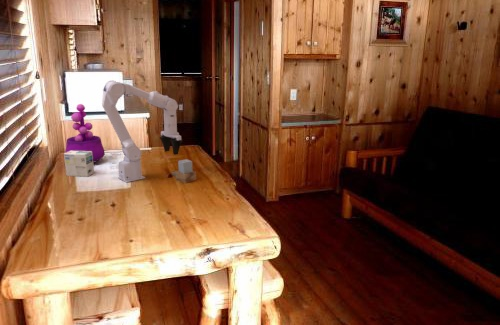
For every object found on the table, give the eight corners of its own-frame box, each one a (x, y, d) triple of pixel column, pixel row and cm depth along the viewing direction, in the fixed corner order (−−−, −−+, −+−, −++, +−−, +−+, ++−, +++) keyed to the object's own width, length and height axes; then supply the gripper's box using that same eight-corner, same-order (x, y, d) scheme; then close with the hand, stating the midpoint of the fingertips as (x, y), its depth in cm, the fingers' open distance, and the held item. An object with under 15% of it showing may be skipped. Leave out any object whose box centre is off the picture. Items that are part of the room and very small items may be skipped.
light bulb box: (94, 172, 190) (92, 150, 187) (87, 177, 184) (85, 154, 181) (73, 171, 191) (70, 149, 188) (65, 176, 185) (63, 153, 182)
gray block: (183, 173, 179) (183, 163, 177) (178, 171, 182) (178, 160, 181) (192, 172, 181) (192, 161, 180) (187, 169, 185) (187, 159, 183)
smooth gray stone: (176, 177, 186) (176, 175, 186) (169, 174, 190) (169, 172, 190) (187, 175, 190) (187, 172, 190) (180, 172, 194) (180, 170, 194)
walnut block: (185, 183, 178) (185, 174, 177) (175, 180, 182) (175, 171, 181) (196, 180, 183) (196, 171, 182) (186, 177, 187) (186, 168, 186)
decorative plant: (91, 168, 197) (86, 107, 189) (58, 165, 200) (51, 105, 192) (112, 158, 215) (107, 102, 207) (80, 156, 218) (75, 101, 210)
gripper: (186, 125, 183) (187, 154, 187) (169, 121, 194) (170, 148, 197) (173, 127, 179) (174, 156, 182) (156, 122, 189) (157, 150, 193)
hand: (171, 152), depth 190 cm, fingers open, 7 cm apart
